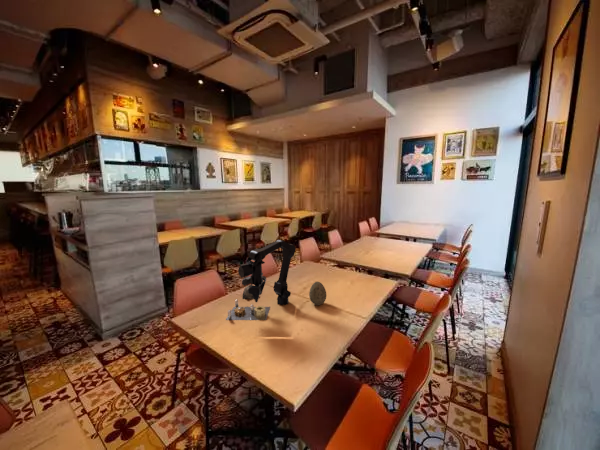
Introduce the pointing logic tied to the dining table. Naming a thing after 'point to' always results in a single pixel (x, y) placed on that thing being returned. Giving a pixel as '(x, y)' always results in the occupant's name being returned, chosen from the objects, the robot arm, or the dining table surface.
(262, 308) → the hollow octagonal tube
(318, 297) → the decorative egg
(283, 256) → the robot arm
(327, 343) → the dining table surface
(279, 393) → the dining table surface
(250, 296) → the grey rock
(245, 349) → the dining table surface
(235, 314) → the carrier
